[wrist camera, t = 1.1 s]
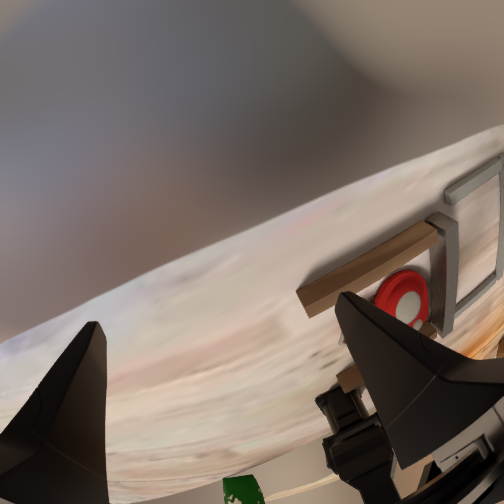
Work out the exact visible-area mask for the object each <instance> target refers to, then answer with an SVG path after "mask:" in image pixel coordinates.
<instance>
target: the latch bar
mask: <svg viewBox="0 0 504 504" xmlns="http://www.w3.org/2000/svg"><path fill="white" fill-rule="evenodd" d="M427 224H429V225H430V226H432V227H434V228H435V229H437V237H438V242H437V243H436V244H434V245H433V246H431V247H430V263H431V290H432V308H431V325H432V326H433V327H434V328H435V329H436V330H437V333H438V334H439V335H440V337H441V338H442V339H443V338H444V337H445V336H447V335H448V334H449V333H450V332H452V331H453V323H454V316H455V307H456V296H457V282H458V222H457V221H455V220H454V219H452V218H450V217H448V216H446V215H445V214H443V213H441V212H437V213H435V214H434V215H432V216H431V217H429V218H428V219H427Z"/></svg>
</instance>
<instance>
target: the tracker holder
mask: <svg viewBox="0 0 504 504" xmlns="http://www.w3.org/2000/svg"><path fill="white" fill-rule="evenodd" d="M374 305H375V306H377V307H379V308H380V309H382V310H384V311H385V312H387V313H389V314H390V315H392V316H394V317H395V318H397V319H399V320H400V321H402V322H404V323H405V324H407V325H409V326H411V327H412V328H414V329H416V330H417V331H418V330H419V329H420V328H421V326H422V325H423V324H424V322H425V321H426V319H427V318H428V314H429V299H428V291H427V286H426V282H425V280H424V278H423V277H422V276H421V275H420V274H418V273H416V272H414V271H411V270H404V271H400V272H398V273H396V274H394V275H392V276H391V277H389V278H388V279H387V280H386V281H385V282H384V284H383V285H382V287H381V288H380V290H379V292H378V294H377V297H376V299H375V303H374ZM344 342H345V339H344V336H343V333H342V331H341V335H340V339H339V343H338V344H339V345H340V346H346V347H347V344H346V342H345V343H344Z"/></svg>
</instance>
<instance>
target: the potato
mask: <svg viewBox="0 0 504 504" xmlns="http://www.w3.org/2000/svg"><path fill="white" fill-rule="evenodd" d="M496 357H497V358H502V357H504V338H503V339H502V340H501V341H500V343H499V347H498V351H497V355H496Z"/></svg>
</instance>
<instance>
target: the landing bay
mask: <svg viewBox="0 0 504 504" xmlns="http://www.w3.org/2000/svg"><path fill="white" fill-rule="evenodd" d="M498 173H500V229H499V243H498V253H497V261H496V269H495V275H494V274H492V275H491V276H490V277H489V278H488V279H486V280H485V281H484V282H483V283H482V284H481V285H480V286H479V287H478V288H476V289H475V290H474V291H473V292H472V293H471V294H470V295H468V296H467V297H466V298H465V299H464V300H462V301H461V302H460V303H459V304H457V305H456V307H455V316H454V319H455V318H457V317H458V316H459V315H460V314H462V313H463V312H464V311H465V310H466V309H468V308H469V307H470V306H471V305H472V304H473V303H474V302H476V301H477V300H478V299H479V298H480V297H481V296H482V295H483V294H484V293H486V292H487V291H488V290H489V289H490V288H491V287H492V286H493V285H494V284H495V283H496V280H499V279H500V278H501V277H502V275H503V270H504V153H502V154H500V155H499V156H498V158H494V159H493V160H491V161H490V162H488V163H487V164H485V165H484V166H482V167H480V168H479V169H477V170H476V171H474V172H473V173H471V174H470V175H468V176H466V177H465V178H463V179H462V180H460V181H459V182H457V183H455V184H454V185H452V186H451V187H449V188H447V189H446V190H444V195H445V203H447V204H449V205H451V206H452V205H454V204H455V203H457V202H458V201H459V200H461V199H462V198H464V197H465V196H467V195H468V194H470V193H471V192H473V191H474V190H475V189H477V188H478V187H480V186H481V185H482V184H484V183H485V182H487V181H488V180H489V179H491V178H492V177H494V176H495V175H496V174H498Z"/></svg>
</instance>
